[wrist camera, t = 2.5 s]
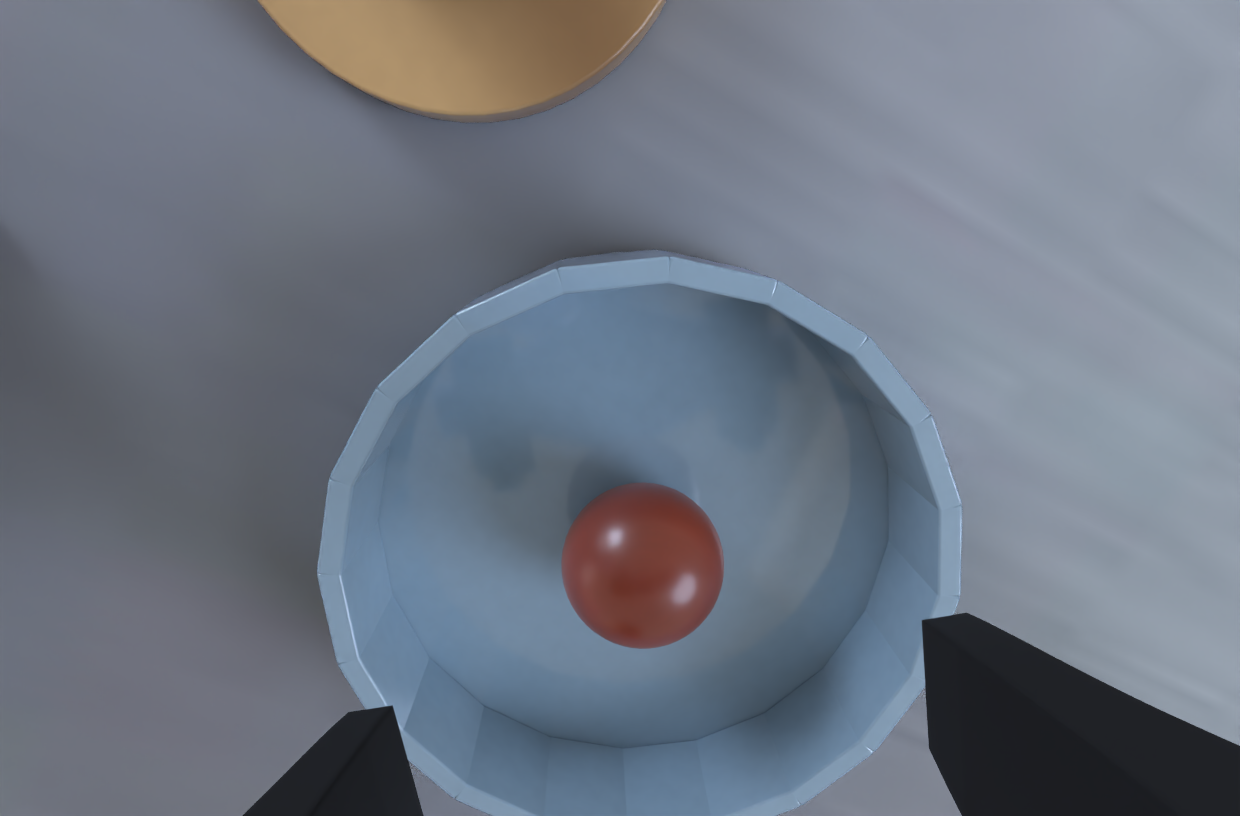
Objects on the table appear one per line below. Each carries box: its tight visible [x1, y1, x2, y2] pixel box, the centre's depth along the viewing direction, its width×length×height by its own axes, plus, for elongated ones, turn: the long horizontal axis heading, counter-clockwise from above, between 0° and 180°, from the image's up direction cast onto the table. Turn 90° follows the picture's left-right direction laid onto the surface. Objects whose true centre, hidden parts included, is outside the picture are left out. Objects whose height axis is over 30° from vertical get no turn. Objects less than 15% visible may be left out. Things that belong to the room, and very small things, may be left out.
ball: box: [561, 482, 724, 649], centre depth 15 cm, size 3×3×3 cm
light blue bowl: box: [317, 249, 962, 816], centre depth 15 cm, size 12×12×3 cm
